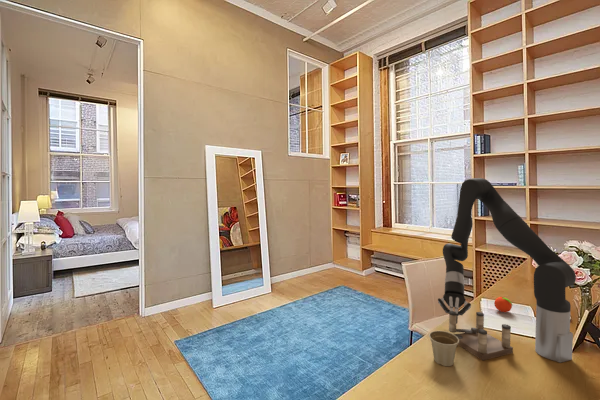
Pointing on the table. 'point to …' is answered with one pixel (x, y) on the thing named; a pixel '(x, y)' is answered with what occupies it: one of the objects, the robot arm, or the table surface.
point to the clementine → (503, 304)
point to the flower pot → (444, 347)
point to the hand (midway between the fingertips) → (453, 323)
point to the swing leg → (453, 324)
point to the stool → (485, 341)
